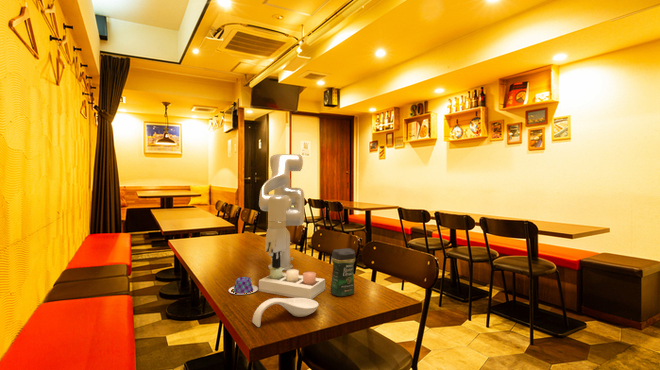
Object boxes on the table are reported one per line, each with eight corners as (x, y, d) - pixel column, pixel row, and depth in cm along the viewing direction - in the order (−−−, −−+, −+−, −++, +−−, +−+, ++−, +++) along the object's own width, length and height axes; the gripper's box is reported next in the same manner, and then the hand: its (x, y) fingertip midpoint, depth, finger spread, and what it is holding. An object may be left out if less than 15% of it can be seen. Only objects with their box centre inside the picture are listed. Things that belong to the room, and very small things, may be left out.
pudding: (228, 287, 145) (228, 275, 145) (256, 285, 148) (257, 273, 148) (228, 297, 133) (228, 284, 133) (259, 294, 137) (259, 282, 137)
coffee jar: (337, 298, 134) (338, 252, 133) (327, 292, 141) (328, 248, 140) (357, 294, 138) (358, 249, 138) (347, 288, 145) (348, 246, 145)
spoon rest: (306, 304, 128) (306, 285, 127) (325, 315, 118) (325, 294, 118) (247, 320, 113) (247, 298, 113) (263, 333, 104) (263, 310, 104)
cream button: (290, 280, 146) (290, 268, 145) (300, 281, 143) (300, 270, 143) (283, 283, 141) (283, 271, 141) (294, 285, 139) (294, 273, 139)
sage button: (274, 277, 149) (274, 266, 149) (284, 279, 147) (284, 267, 146) (267, 280, 144) (267, 269, 144) (278, 282, 142) (278, 270, 142)
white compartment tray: (276, 281, 153) (277, 271, 153) (324, 289, 144) (325, 279, 144) (258, 290, 141) (258, 280, 140) (310, 300, 131) (310, 289, 131)
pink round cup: (306, 282, 142) (306, 271, 142) (317, 284, 140) (317, 272, 140) (300, 286, 138) (300, 274, 137) (312, 288, 135) (312, 276, 135)
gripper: (278, 222, 153) (278, 262, 153) (259, 226, 139) (258, 270, 140) (293, 223, 150) (292, 264, 150) (274, 227, 136) (274, 273, 137)
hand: (276, 267), depth 145 cm, fingers closed
